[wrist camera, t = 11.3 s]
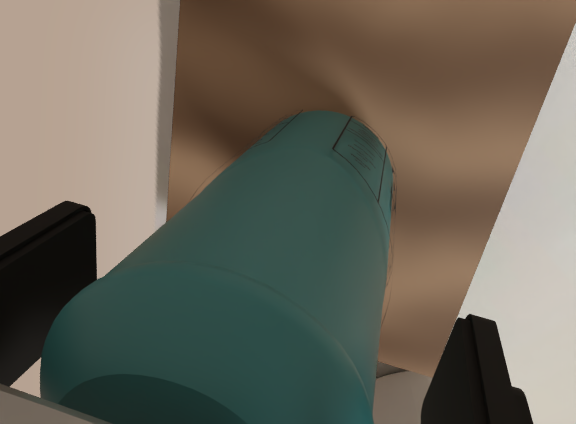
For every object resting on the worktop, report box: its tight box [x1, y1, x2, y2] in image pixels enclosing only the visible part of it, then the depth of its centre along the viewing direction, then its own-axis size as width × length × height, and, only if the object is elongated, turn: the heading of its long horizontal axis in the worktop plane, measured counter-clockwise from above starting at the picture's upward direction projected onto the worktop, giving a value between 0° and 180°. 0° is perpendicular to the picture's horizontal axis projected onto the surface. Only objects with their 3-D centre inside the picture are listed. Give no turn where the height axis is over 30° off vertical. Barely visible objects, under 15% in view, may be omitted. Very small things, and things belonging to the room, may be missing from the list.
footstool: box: [166, 0, 576, 378], centre depth 26 cm, size 20×16×8 cm
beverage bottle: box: [40, 110, 397, 424], centre depth 13 cm, size 6×7×20 cm
